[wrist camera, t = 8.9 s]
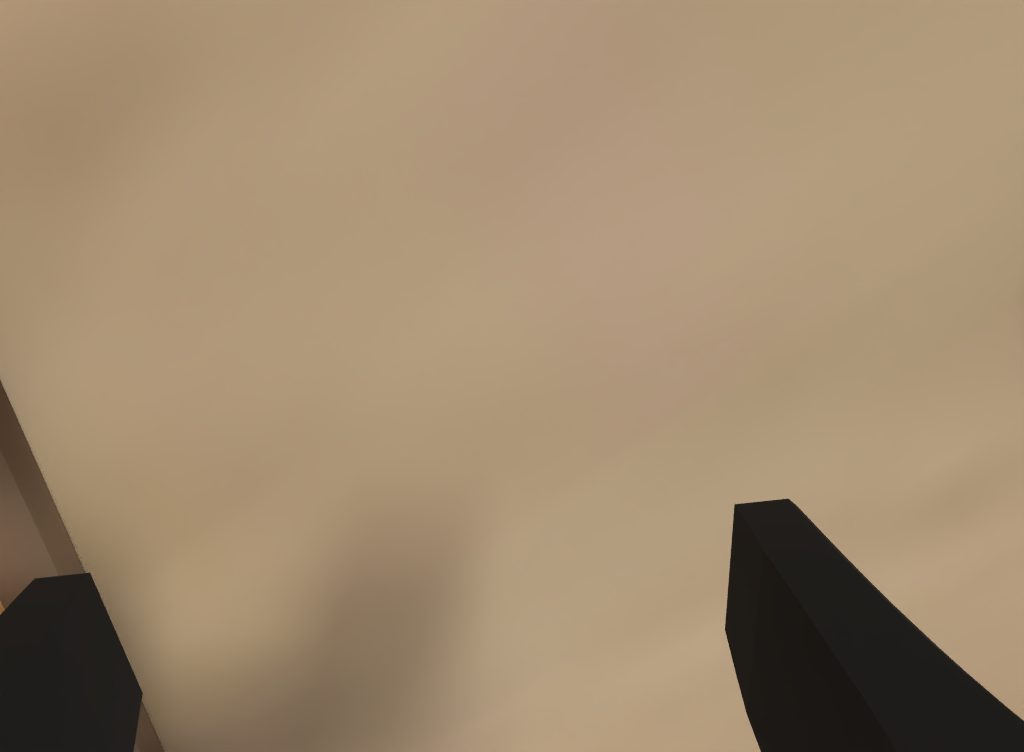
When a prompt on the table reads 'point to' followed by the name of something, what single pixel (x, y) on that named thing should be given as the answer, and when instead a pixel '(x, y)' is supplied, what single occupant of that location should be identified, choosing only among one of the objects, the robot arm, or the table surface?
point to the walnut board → (36, 533)
